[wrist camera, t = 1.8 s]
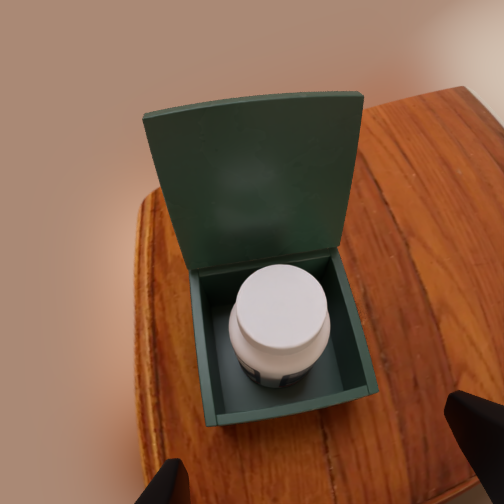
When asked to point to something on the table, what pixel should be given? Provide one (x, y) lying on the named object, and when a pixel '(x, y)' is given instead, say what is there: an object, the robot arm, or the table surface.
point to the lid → (256, 173)
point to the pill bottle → (279, 325)
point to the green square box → (320, 375)
